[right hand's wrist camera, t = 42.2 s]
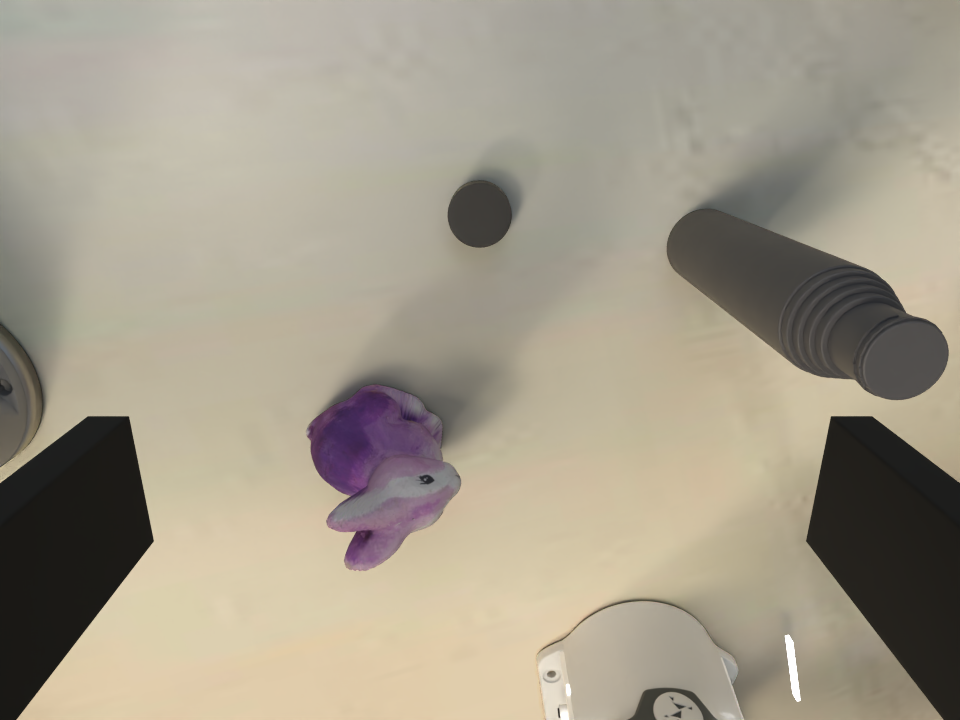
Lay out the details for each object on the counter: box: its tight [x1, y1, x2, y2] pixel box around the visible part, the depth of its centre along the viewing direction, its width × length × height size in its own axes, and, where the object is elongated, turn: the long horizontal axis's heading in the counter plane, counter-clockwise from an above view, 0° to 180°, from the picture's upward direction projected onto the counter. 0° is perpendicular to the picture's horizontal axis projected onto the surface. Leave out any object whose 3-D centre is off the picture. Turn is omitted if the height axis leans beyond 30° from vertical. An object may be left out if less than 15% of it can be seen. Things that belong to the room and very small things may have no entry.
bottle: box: [667, 209, 949, 400], centre depth 38 cm, size 5×5×25 cm
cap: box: [448, 180, 511, 247], centre depth 48 cm, size 4×4×2 cm
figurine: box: [306, 384, 461, 571], centre depth 47 cm, size 9×10×15 cm
